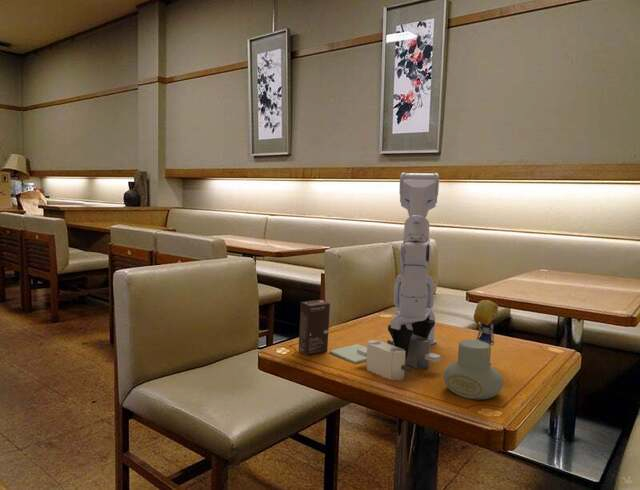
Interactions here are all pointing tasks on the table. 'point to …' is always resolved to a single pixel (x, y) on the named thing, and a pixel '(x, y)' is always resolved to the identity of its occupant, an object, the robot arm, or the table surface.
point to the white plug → (385, 359)
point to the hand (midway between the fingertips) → (410, 353)
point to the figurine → (485, 320)
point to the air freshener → (473, 372)
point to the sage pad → (350, 353)
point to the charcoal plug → (419, 352)
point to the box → (314, 326)
